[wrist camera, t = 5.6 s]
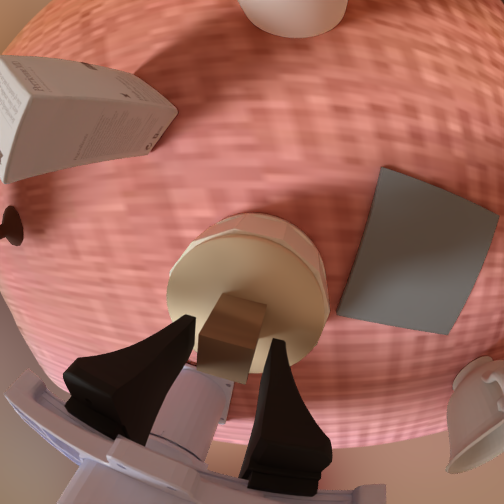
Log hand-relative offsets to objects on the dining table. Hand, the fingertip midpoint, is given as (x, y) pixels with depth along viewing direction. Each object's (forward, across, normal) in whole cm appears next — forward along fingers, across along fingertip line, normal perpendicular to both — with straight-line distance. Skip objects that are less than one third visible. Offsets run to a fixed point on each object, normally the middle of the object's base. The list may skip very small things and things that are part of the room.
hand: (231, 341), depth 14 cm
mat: (+7, -12, -4) cm, 15 cm away
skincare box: (+7, +11, -11) cm, 17 cm away
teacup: (+7, -25, +5) cm, 26 cm away
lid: (+3, 0, 0) cm, 3 cm away
